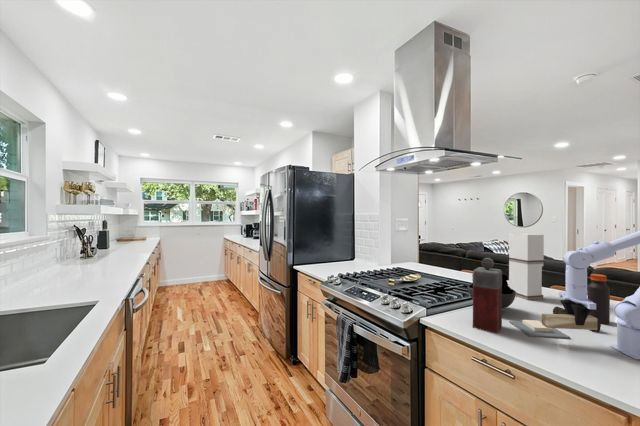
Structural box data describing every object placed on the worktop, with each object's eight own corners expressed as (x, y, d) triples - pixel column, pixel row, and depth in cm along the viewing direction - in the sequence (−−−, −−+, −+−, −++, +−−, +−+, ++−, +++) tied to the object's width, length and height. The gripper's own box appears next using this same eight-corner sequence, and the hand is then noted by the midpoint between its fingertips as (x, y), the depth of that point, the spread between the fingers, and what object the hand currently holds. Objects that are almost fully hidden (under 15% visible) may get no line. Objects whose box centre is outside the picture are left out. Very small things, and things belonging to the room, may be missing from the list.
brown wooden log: (602, 332, 111) (602, 320, 111) (592, 332, 111) (592, 320, 111) (558, 315, 130) (559, 305, 130) (550, 315, 130) (550, 305, 130)
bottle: (614, 325, 118) (614, 277, 118) (595, 323, 119) (595, 276, 119) (601, 319, 124) (601, 273, 125) (583, 318, 126) (583, 273, 126)
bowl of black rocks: (521, 310, 136) (521, 270, 136) (508, 320, 122) (509, 276, 122) (476, 300, 151) (476, 265, 151) (460, 308, 137) (461, 269, 137)
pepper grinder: (502, 324, 117) (503, 257, 118) (498, 333, 109) (498, 260, 109) (478, 319, 123) (478, 255, 123) (472, 327, 115) (472, 258, 115)
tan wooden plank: (597, 330, 99) (597, 318, 99) (547, 327, 100) (547, 316, 101) (590, 326, 102) (590, 315, 102) (541, 324, 103) (541, 313, 103)
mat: (570, 338, 105) (570, 337, 105) (529, 336, 106) (529, 334, 106) (545, 324, 118) (545, 322, 118) (509, 322, 120) (509, 320, 120)
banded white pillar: (543, 298, 154) (543, 234, 154) (527, 300, 152) (527, 234, 152) (524, 293, 165) (524, 233, 165) (509, 294, 163) (509, 233, 163)
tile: (551, 328, 109) (538, 320, 117) (534, 327, 110) (522, 319, 118) (551, 332, 109) (538, 324, 117) (534, 331, 110) (522, 323, 118)
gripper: (549, 279, 108) (549, 315, 108) (579, 289, 94) (579, 330, 94) (570, 280, 108) (569, 316, 108) (603, 290, 93) (603, 332, 93)
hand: (575, 323), depth 101 cm, fingers closed on tan wooden plank, 3 cm apart
